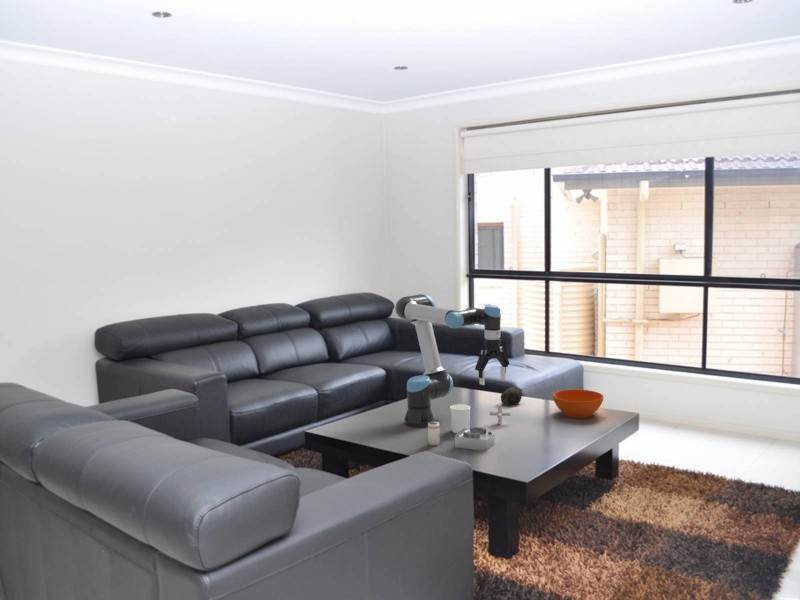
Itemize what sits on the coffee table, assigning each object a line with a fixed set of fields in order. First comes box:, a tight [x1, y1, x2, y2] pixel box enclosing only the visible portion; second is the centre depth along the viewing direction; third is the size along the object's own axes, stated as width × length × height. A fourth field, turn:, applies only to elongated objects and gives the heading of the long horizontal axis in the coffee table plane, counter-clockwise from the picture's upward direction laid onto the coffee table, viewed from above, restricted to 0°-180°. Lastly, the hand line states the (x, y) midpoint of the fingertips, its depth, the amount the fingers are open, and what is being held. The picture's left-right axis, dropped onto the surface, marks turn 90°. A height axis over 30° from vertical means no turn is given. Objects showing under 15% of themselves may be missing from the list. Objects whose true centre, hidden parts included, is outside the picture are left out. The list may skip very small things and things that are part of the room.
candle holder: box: [449, 403, 471, 434], centre depth 349 cm, size 10×10×12 cm
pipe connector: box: [489, 403, 511, 425], centre depth 359 cm, size 10×10×10 cm
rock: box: [500, 386, 523, 406], centre depth 395 cm, size 10×11×10 cm
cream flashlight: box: [426, 421, 442, 447], centre depth 330 cm, size 5×5×10 cm
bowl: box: [552, 388, 604, 419], centre depth 371 cm, size 25×25×10 cm
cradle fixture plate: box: [454, 426, 496, 452], centre depth 327 cm, size 15×11×7 cm
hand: (492, 382), depth 344 cm, fingers open, 13 cm apart
